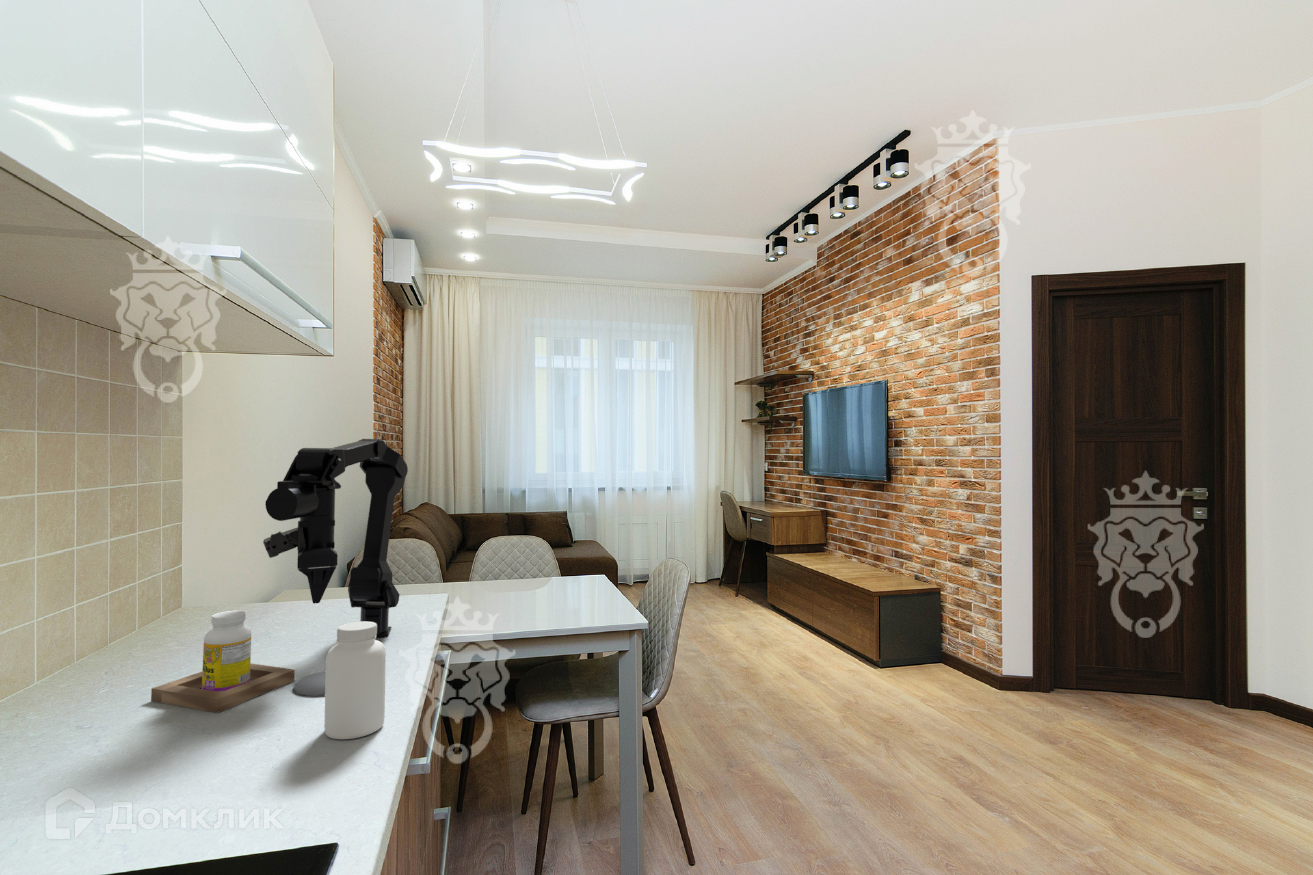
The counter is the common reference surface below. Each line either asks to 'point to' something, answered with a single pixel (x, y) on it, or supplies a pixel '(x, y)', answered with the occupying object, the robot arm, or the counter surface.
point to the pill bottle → (355, 682)
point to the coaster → (311, 685)
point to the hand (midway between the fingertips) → (315, 597)
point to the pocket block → (193, 697)
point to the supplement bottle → (226, 652)
